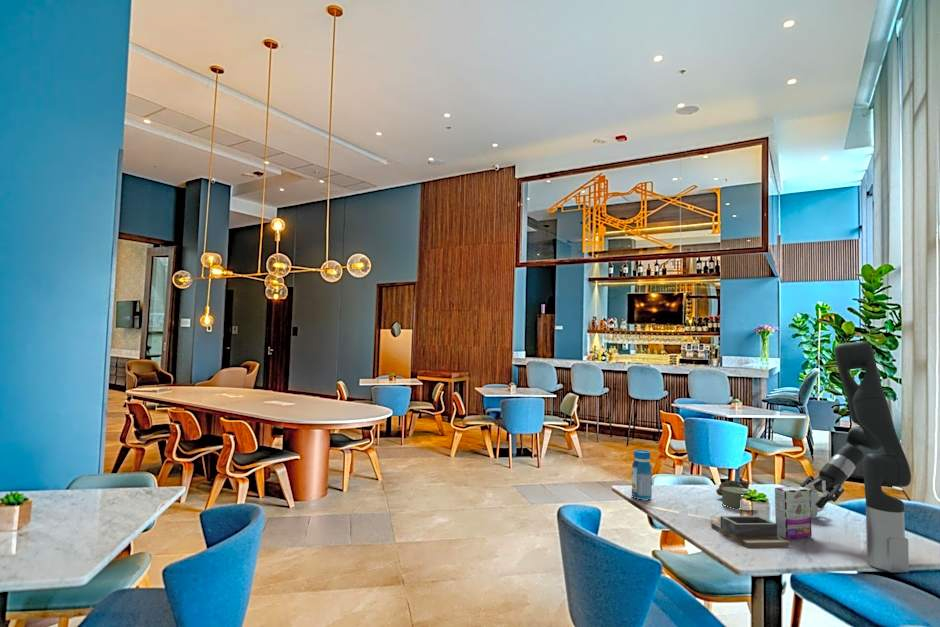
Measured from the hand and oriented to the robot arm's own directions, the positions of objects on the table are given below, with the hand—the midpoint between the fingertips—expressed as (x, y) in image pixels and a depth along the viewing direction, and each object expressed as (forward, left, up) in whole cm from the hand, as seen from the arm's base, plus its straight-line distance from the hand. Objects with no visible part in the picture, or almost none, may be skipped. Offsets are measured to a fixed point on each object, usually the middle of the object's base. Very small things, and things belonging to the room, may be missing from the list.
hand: (808, 503), depth 188 cm
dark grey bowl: (+35, +3, -12) cm, 37 cm away
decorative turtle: (+47, -3, -11) cm, 49 cm away
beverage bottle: (+48, +39, -11) cm, 63 cm away
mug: (+22, -19, -11) cm, 31 cm away
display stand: (0, +23, -11) cm, 26 cm away
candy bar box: (0, +6, -11) cm, 13 cm away
